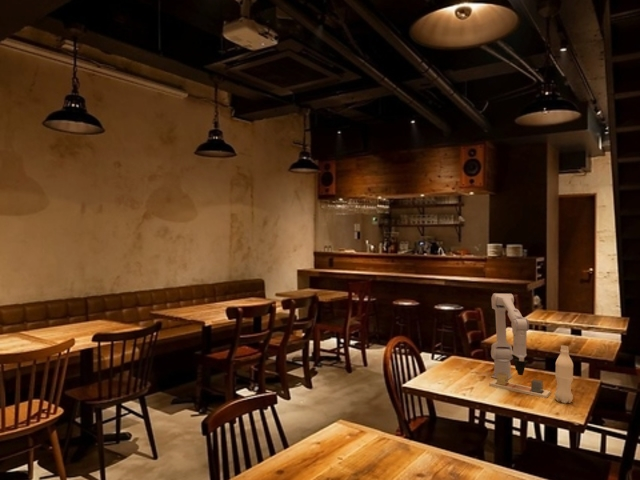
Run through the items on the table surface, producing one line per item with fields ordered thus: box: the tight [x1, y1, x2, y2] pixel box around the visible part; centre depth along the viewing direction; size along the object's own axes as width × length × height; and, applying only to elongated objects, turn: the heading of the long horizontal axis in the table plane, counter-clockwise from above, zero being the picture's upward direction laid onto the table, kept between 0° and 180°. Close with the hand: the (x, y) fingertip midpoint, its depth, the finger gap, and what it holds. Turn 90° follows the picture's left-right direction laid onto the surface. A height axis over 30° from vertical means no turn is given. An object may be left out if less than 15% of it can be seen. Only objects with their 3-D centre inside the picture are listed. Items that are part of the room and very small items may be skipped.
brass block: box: [496, 373, 509, 386], centre depth 227 cm, size 4×4×6 cm
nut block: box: [530, 379, 544, 394], centre depth 216 cm, size 4×4×6 cm
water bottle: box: [554, 345, 574, 404], centre depth 206 cm, size 7×7×25 cm
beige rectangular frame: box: [488, 379, 552, 399], centre depth 222 cm, size 8×26×1 cm, turn 50°
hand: (519, 372), depth 217 cm, fingers open, 7 cm apart
